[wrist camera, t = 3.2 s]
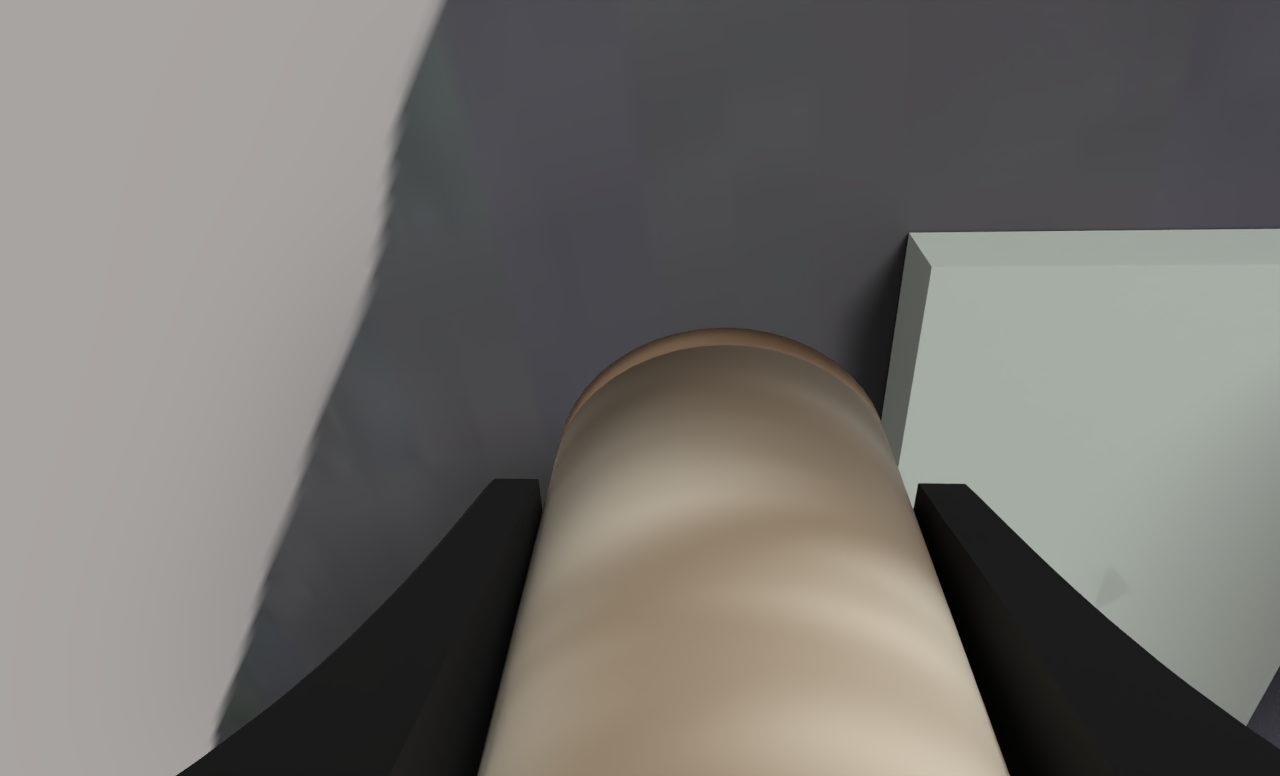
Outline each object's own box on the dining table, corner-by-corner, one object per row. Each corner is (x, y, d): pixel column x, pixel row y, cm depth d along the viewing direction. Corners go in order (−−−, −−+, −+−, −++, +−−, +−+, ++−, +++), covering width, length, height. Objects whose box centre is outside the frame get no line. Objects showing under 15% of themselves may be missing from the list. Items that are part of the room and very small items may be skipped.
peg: (882, 274, 12) (1177, 851, 5) (849, 523, 15) (1008, 1151, 7) (562, 276, 13) (372, 818, 5) (583, 520, 15) (476, 1118, 8)
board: (1425, 227, 17) (1505, 262, 16) (1169, 746, 27) (1202, 804, 25) (909, 232, 18) (932, 266, 16) (834, 737, 27) (843, 792, 26)
